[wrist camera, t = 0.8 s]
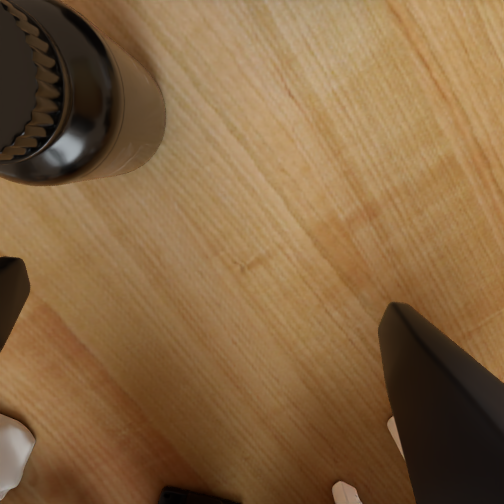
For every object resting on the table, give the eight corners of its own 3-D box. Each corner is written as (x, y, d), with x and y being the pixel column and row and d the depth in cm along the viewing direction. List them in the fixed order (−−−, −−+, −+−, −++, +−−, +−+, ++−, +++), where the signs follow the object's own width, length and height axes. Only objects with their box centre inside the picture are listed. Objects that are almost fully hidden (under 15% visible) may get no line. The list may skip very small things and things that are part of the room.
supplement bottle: (165, 50, 21) (67, -73, 9) (170, 175, 23) (94, 202, 11) (40, 48, 21) (-217, -81, 9) (55, 174, 23) (-144, 199, 11)
